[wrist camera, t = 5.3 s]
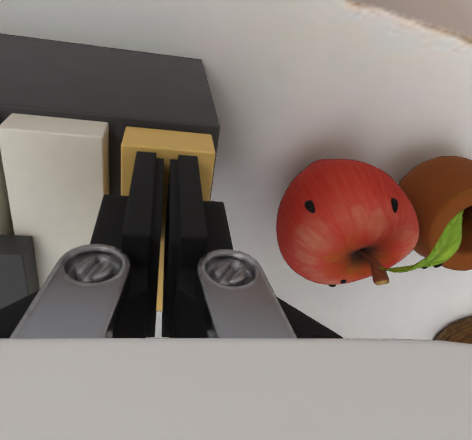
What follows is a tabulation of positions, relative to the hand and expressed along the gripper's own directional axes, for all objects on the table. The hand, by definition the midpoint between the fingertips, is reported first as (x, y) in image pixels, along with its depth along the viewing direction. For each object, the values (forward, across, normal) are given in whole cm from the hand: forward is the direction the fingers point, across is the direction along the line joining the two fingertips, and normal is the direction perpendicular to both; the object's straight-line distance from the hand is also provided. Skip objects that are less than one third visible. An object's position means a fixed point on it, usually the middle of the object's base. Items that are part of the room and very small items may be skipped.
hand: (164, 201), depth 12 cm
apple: (+11, -9, +4) cm, 15 cm away
